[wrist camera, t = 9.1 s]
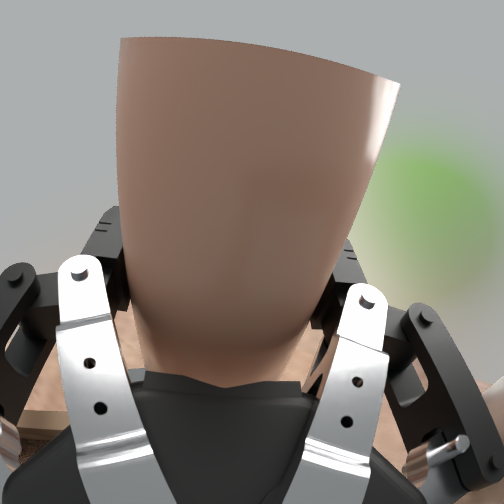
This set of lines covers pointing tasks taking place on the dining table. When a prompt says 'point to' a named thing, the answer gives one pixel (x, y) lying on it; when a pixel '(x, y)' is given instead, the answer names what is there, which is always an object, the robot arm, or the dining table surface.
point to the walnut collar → (41, 424)
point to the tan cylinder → (237, 196)
